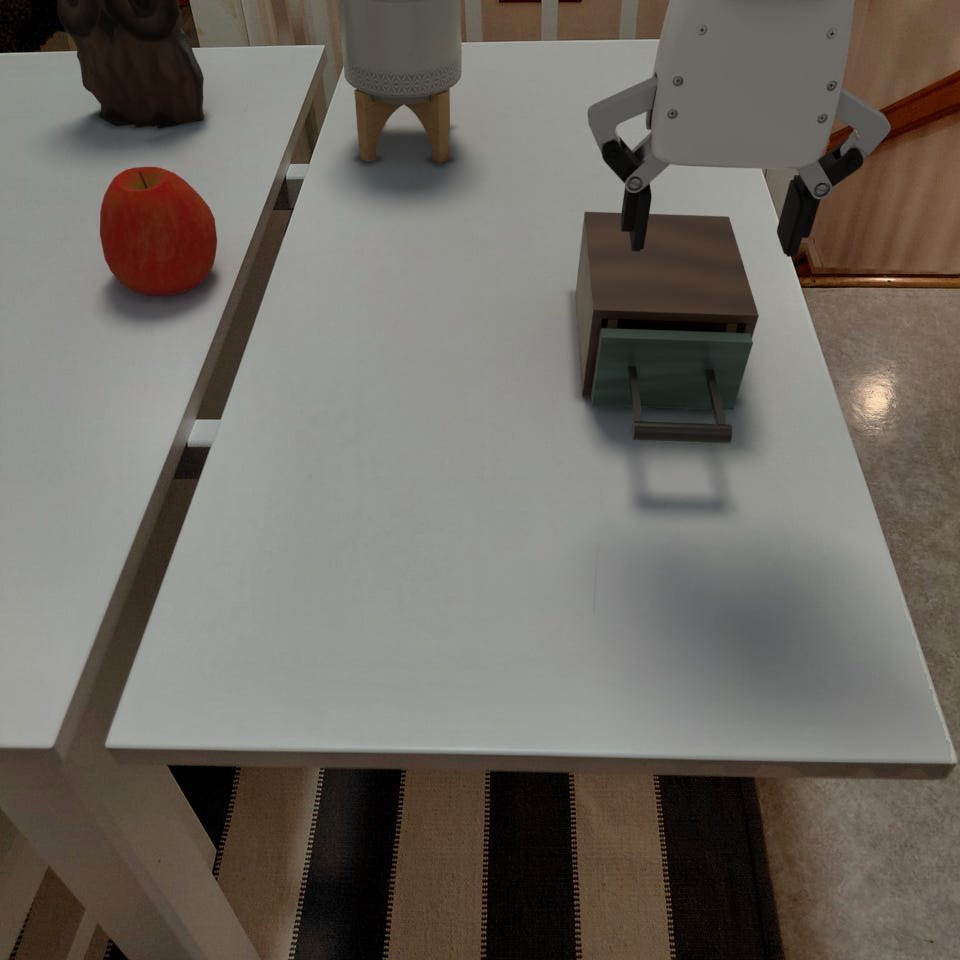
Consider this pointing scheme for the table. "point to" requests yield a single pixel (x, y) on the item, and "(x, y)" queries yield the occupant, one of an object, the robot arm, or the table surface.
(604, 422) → the table surface
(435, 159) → the planter
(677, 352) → the drawer
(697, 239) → the cabinet
